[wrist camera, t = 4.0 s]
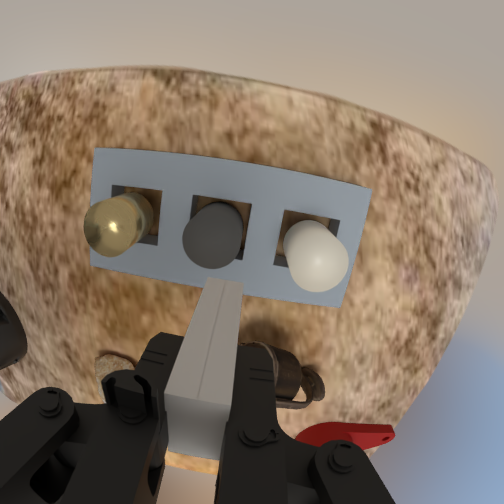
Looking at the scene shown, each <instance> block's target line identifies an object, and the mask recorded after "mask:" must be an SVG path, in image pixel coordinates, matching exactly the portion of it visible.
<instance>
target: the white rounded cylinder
mask: <svg viewBox="0 0 504 504" xmlns="http://www.w3.org/2000/svg"><path fill="white" fill-rule="evenodd" d="M283 249H284V253H285V256H286V260H287V263H288V266H289V270H290V273H291V276H292V278H293V280H294V281H295V283H296V284H297V285H298V286H299V287H301V288H302V289H304V290H307V291H310V292H324V291H327V290H329V289H332V288H333V287H335V286H336V285H338V284H339V283H340V282H341V280H342V279H343V278H344V276H345V274H346V272H347V269H348V264H349V258H348V253H347V251H346V249H345V247H344V245H343V244H342V243H341V242H340V241H339V240H338V239H337V238H336V237H335V236H334V235H333V234H332V233H331V232H330V231H329V230H328V229H327V228H326V227H325V226H324V225H323V224H321V223H320V222H317V221H314V220H303V221H300V222H298V223H296V224H294V225H293V226H292V227H291V228H290V229H289V230H288V231H287V233H286V235H285V237H284V241H283Z"/></svg>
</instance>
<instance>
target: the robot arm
mask: <svg viewBox="0 0 504 504" xmlns="http://www.w3.org/2000/svg"><path fill="white" fill-rule="evenodd" d="M243 286H244V283H241V282H235V281H229V280H223V279H217V278H211V277H208V278H207V281H206V283H205V286H204V288H203V291H202V293H201V296H200V298H199V301H198V303H197V306H196V309H195V311H194V314H193V316H192V319H191V321H190V324H189V327H188V329H187V332H186V335H185V337H183V336H178V335H173V334H168V333H164V332H160V333H159V334H157V335H156V336H155V337H153V338H152V339H150V341H149V343H148V345H147V347H146V349H145V352H143V354H142V356H141V359H140V360H139V362H138V364H137V366H136V368H135V370H129V369H123V370H116V371H114V372H112V373H109V374H107V375H106V376H105V377H104V378H103V379H102V380H101V385H102V389H103V393H104V397H105V401H106V403H104V404H84V403H74V402H73V400H72V397H71V396H70V395H69V394H68V393H67V392H66V391H64V390H62V389H59V388H54V387H46V388H41V389H39V390H38V391H36V392H34V393H33V394H32V395H30V396H29V397H28V398H27V399H26V400H24V401H23V402H22V403H21V404H20V405H18V406H17V407H16V408H15V409H14V410H13V411H11V412H10V413H9V414H8V415H6V416H5V417H4V418H3V419H2V420H1V421H0V504H156V501H157V497H158V493H159V489H160V485H161V481H162V477H163V473H164V469H165V458H164V457H165V453H166V450H167V446H168V451H171V452H175V453H180V454H185V455H190V456H195V457H201V458H207V459H213V460H220V461H219V470H218V475H217V480H216V485H215V486H216V490H215V499H214V504H395V502H394V500H393V499H392V497H391V495H390V494H389V492H388V490H387V489H386V487H385V485H384V484H383V482H382V480H381V479H380V477H379V475H378V473H377V472H376V470H375V469H374V467H373V465H372V463H371V462H370V460H369V458H368V457H367V455H366V453H365V452H364V451H363V450H362V449H361V448H360V447H359V446H358V445H356V444H354V443H352V442H350V441H346V440H342V439H341V440H331V441H328V442H326V443H324V444H322V445H321V446H320V447H317V446H314V445H310V444H307V443H303V442H300V441H297V440H295V439H293V438H291V437H290V436H288V435H287V434H286V433H285V432H284V431H283V430H282V429H281V427H280V426H279V424H278V420H277V412H276V396H275V383H274V365H273V359H272V357H271V355H270V354H269V352H268V351H267V349H263V348H255V347H248V346H241V345H237V343H238V333H239V324H240V314H241V305H242V295H243ZM26 353H27V339H26V335H25V332H24V329H23V326H22V324H21V322H20V320H19V318H18V316H17V314H16V312H15V310H14V309H13V307H12V306H11V304H10V303H9V301H8V300H7V299H6V298H5V296H4V295H3V294H2V293H1V292H0V370H1V369H3V368H6V367H8V366H10V365H12V364H15V363H17V362H19V361H20V360H21V359H22V358H23V357H24V356H25V355H26Z"/></svg>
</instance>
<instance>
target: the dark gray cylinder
mask: <svg viewBox="0 0 504 504" xmlns="http://www.w3.org/2000/svg"><path fill="white" fill-rule="evenodd" d="M242 233H243V220H242V217H241V215H240V213H239V212H238V210H237V209H236V208H235V207H233V206H232V205H230V204H228V203H224V202H213V203H210V204H208V205H206V206H204V207H203V208H202V209H201V210H200V211H199V212H198V213H197V214H196V215H195V216H194V217H193V218H192V219H191V220H190V221H189V222H188V223H187V225H186V226H185V228H184V231H183V235H182V244H183V248H184V251H185V253H186V255H187V256H188V257H189V259H190V260H191V261H192V262H194V263H195V264H196V265H198V266H200V267H203V268H207V269H219V268H222V267H225V266H227V265H228V264H230V263H231V262H232V261H233V260H234V259H235V258H236V256H237V255H238V253H239V250H240V246H241V240H242Z"/></svg>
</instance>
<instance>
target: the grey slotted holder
mask: <svg viewBox="0 0 504 504" xmlns="http://www.w3.org/2000/svg"><path fill="white" fill-rule="evenodd" d="M125 186H130V187H138V188H147V189H155V190H163V191H162V200H161V210H160V221H159V233H158V236H155V235H149V234H147V235H145V236H144V237H143V238H142V239H140V240H139V241H138V242H136V243H135V244H134V245H133V246H131V247H130V248H129V249H127V250H126V251H125V252H124V253H122V254H121V255H119V256H116V257H105V256H102V255H100V254H98V253H97V252H95V251H94V250H93V249H92V248H91V246H90V266H95V267H99V268H104V269H108V270H113V271H118V272H123V273H127V274H132V275H137V276H142V277H147V278H152V279H157V280H163V281H168V282H173V283H179V284H184V285H190V286H195V287H201V288H204V286H205V283H206V281H207V278H208V277H211V278H217V279H223V280H229V281H235V282H241V283H244V286H243V295H249V296H256V297H263V298H269V299H276V300H283V301H290V302H298V303H305V304H313V305H320V306H328V307H337V308H340V307H341V304H342V301H343V297H344V294H345V291H346V288H347V285H348V282H349V278H350V275H351V272H352V268H353V265H354V261H355V258H356V254H357V251H358V247H359V243H360V239H361V236H362V232H363V228H364V224H365V220H366V216H367V211H368V207H369V203H370V198H371V194H372V189H369V188H366V187H362V186H359V185H355V184H351V183H347V182H342V181H338V180H334V179H330V178H325V177H321V176H316V175H312V174H307V173H302V172H297V171H292V170H287V169H282V168H277V167H271V166H266V165H260V164H254V163H248V162H242V161H235V160H229V159H222V158H214V157H207V156H199V155H191V154H182V153H172V152H162V151H150V150H138V149H122V148H95V150H94V159H93V170H92V182H91V199H90V207H91V206H92V205H94V204H95V203H97V202H100V201H103V200H106V199H109V198H112V197H115V196H118V195H121V194H124V188H125ZM199 195H200V196H206V197H213V198H220V199H226V200H233V201H239V202H245V203H251V210H250V216H249V222H248V228H247V234H246V239H245V245H244V250H241V249H240V250H239V253H238V255H237V256H236V258H235V259H234V260H233V261H232V262H231V263H230V264H228V265H227V266H225V267H222V268H219V269H207V268H203V267H200V266H198V265H196V264H195V263H194V262H192V261H191V260H190V259H189V257H188V256H187V255H186V253H185V251H184V248H183V244H182V235H183V231H184V228H185V226H186V225H187V223H188V222H189V221H190V220H191V219H192V218H193V217H194V216H195V215H196V211H197V204H198V196H199ZM284 209H285V210H291V211H296V212H301V213H307V214H312V215H317V216H322V217H327V218H331V221H330V225H329V229H328V230H329V231H330V232H331V233H332V234H333V235H334V236H335V237H336V238H337V239H338V240H339V241H340V242H341V243H342V244H343V245H344V247H345V249H346V251H347V253H348V258H349V264H348V269H347V272H346V274H345V276H344V278H343V279H342V280H341V282H340V283H339V284H338V285H336V286H335V287H333V288H332V289H329V290H327V291H324V292H310V291H307V290H304V289H302V288H301V287H299V286H298V285H297V284H296V283H295V281H294V280H293V278H292V276H291V273H290V270H289V266H288V263H287V260H286V257H283V256H277V255H275V253H276V248H277V243H278V238H279V234H280V229H281V223H282V218H283V213H284Z"/></svg>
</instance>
